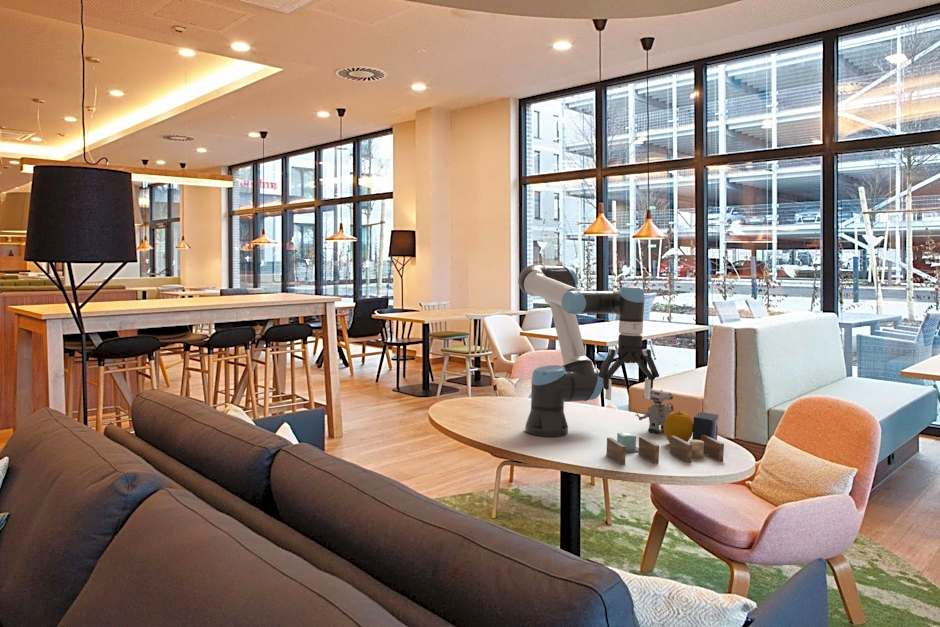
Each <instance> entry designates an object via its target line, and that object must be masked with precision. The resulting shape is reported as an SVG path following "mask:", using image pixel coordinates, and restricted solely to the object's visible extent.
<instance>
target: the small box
mask: <svg viewBox="0 0 940 627" xmlns="http://www.w3.org/2000/svg"><path fill="white" fill-rule="evenodd" d="M692 422H693V433H692V436H691V440H701V435H707V436H709V437H711V438H713V439H715V440H717V441H718V431H719V430H718V429H719V414H716V413H710V412H703V411H700V412H699V413H697V414H696V415H694V416H693V419H692Z"/></svg>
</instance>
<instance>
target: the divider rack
mask: <svg viewBox="0 0 940 627" xmlns="http://www.w3.org/2000/svg"><path fill="white" fill-rule="evenodd" d="M701 441H704V453H703V455H706V456H708V457H711V458H712V459H714V460H716V461H718V462H724V451H725V443H724V442H722V441H719V440H718V439H717V440H715V439H713V438H711V437H709V436H707V435H701ZM638 448H639V451H638V452H637V453H638V454H639V455H640V456H642V457H644V458H645V459H647V460H648V461H650V462H651V463H652V464H655V463H656V464H659V462H660V445H659V444H657V443H655V442H654V441H652V440H650V439H648V438H647V437H645V436H638ZM669 453H670V454H672V455H674V456H675V457H676V458H678V459H680V460H682V461H684V462H685V463H692V458H691V456H692V444H690V443H689V441H688V442H686V441H684V440H682V439H680V438H678V437H676V436H670V443H669ZM626 455H627V453H626V446H624V445H622V444H621V443H619V442H618V441H617V439H614V438H613V437H606V456H607V457H609V458H610V459H612V461H613V460H614V461H615V462H616V463H618V464H619V465H621V466H622V465H626V457H627V456H626Z"/></svg>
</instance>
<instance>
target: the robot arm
mask: <svg viewBox="0 0 940 627" xmlns="http://www.w3.org/2000/svg"><path fill="white" fill-rule="evenodd" d="M517 280H518V285H519V288H520V290H521V291H522V292H523V293H525V294H526V295H529V296H530V297H540V298H543V299H544V301H545V303H546V304H547V305H549V306H550V311H551V314H552V318H553V323H554V327H555V331H556V336H557V340H558V343H559V344H558V345H559V349H560V353H561V357H562V360H563V364H562V365H559V364H558V365H557V364H554V365H551V364H549V365H542V366H539V367H536V368H535V369H534V370H533V372H532V375H531V381H530V382H531V383H530V384H531V398H530V400H531V401H530V412H529V414H528V416H527V420H526V423H525V433H527V434H529V435H533V436H538V437H549V438H551V437H552V438H553V437H556V438H557V437H562V436H566V435H568V434H569V424H568V422H567V418H566V414H565V411H564V410H565V409H564V408H565V403H569V402H587V401H593V400H595V399H598V397H599V396H600V395H601V393H602V389H603V390H605V396H604V397H605V399H606V400H607V401H611V400H612V379H611V378H612V376H613V375H614V374H615V373H616V371H617V370H618V369H619V368H620V367H621V366H622V365H623V364H624V363H625V364H630V363H631V364H635V363H636V364H637V366H639V368H640V370H641V371H642V373H643V374H644V375H645V376H646V377H645V378H644V390H643V393H644V398H643V399H644V400H650V389H652V390H653V388H654V380H655V379H657V378H659V377H660V374H659V371H658V369H657V367H656V364H655V362H654V359H653V357H652V351H651V350H652V349H648V348H644V349H643V348H642V347H643V336H642V334H643V332H644V331H643V328H644V314H645V311H644V309H645V290H644V288H643V287H642V286H627V285H626V286H621V288H620V291H616V290H582V289H580V288H579V286H578V284H579V278H578V276H577V273H576V271H575V270H574V268H572V267H571V266H568V265H564V264H563V265H562V264H554V265H553V264H531V265H528V266H526V267H525V268H523V269H522V270H521V272H520V273H519V276H518V279H517ZM583 314H585V315H589V314H590V315H591V314H595V315H596V314H597V315H599V314H600V315H601V314H602V315H603V314H607V315H608V314H610V315H611V314H613V315H619V317H618V318H619V320H618V333H620V334H619V335H618V342H617V343H618V344H617V346H618V347H617V349H613V348H608V351H607V356H606V358H605V360H604V362H603V364H602V366H601V368H600V369H599V368H597V367H594V365H593V361H592V360H591V359H589V358H587V355H586V351H585V346H584V342H583V338H582V335H581V329H580V326H579V321H578V318H577V315H583ZM642 355H643V356H644V359H645V361H646V363H647V365H648V367H647V366H646V364H645V363H644V361H643V359H642V358H641V357H642ZM616 356H617V358H616V359H615V361H614V358H615V357H616ZM613 361H614V362H613ZM612 363H613V364H612ZM650 401H651V400H650Z"/></svg>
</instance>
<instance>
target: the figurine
mask: <svg viewBox="0 0 940 627" xmlns="http://www.w3.org/2000/svg"><path fill="white" fill-rule="evenodd" d="M642 399H645V398H644V392H643V394H642ZM673 399H674V395H673V394H672V393H671V392H667V391H663V389H660V390H656V389H653V388H652V389H650V401H653V404H651V406H648V407H647V411H648V412H646V413H645V414H644V415H643V416H640V415H639V413H638V412H636V414H635V417H638V421H642V420H644V419H647V418H648V421H649V424H648V425H649V426H648V430H647V431H648V433H651V434H656V435H658V434H660V433H661V430H663V424H664V422H665V419H666V417H667V416H668V414H670V413H671V412H675V411H674V410H675V409H674V405H673V404H672V403H671V402H669V403H667V405H665V404H664V403H663V404H662V402H664V401H666V400H667V401H671V400H673ZM669 404H670V405H669ZM660 429H661V430H660Z"/></svg>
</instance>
